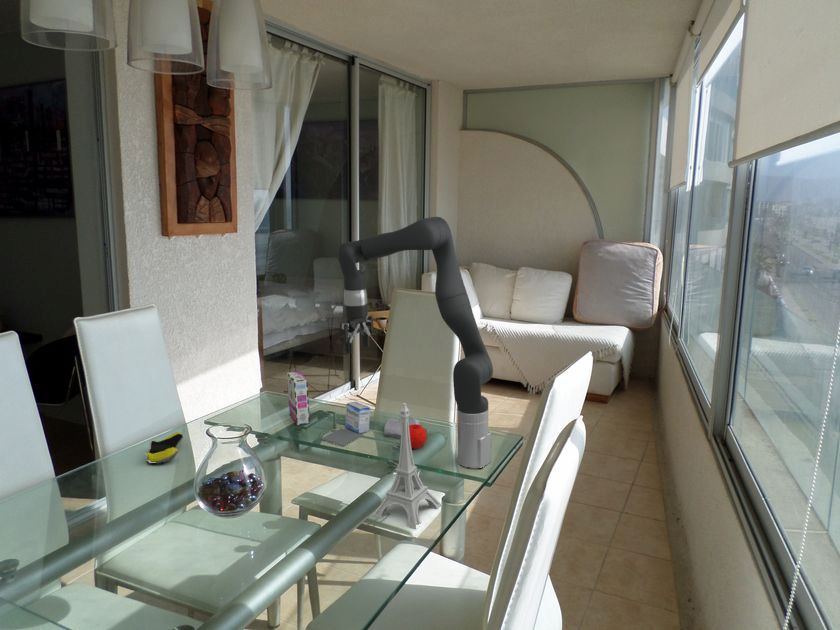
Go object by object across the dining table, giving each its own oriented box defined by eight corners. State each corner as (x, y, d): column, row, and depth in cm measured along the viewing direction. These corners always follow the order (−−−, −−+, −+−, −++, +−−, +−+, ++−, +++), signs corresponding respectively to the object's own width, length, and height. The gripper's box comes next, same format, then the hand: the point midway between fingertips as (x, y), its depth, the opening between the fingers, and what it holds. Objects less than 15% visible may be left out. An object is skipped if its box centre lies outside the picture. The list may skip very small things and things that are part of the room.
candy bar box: (311, 423, 229) (307, 379, 225) (296, 426, 227) (293, 381, 223) (302, 412, 239) (299, 370, 235) (289, 415, 237) (285, 372, 233)
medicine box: (344, 427, 224) (345, 402, 222) (355, 424, 227) (356, 400, 225) (358, 434, 218) (359, 409, 217) (369, 431, 221) (370, 406, 220)
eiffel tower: (372, 516, 169) (367, 407, 162) (399, 493, 180) (396, 391, 173) (416, 530, 163) (413, 417, 155) (442, 505, 174) (440, 399, 167)
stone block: (418, 444, 215) (420, 426, 224) (417, 432, 213) (419, 414, 222) (382, 444, 216) (386, 427, 225) (381, 432, 214) (385, 415, 223)
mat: (363, 435, 218) (363, 434, 218) (343, 446, 210) (343, 445, 210) (341, 429, 224) (341, 428, 223) (320, 439, 216) (320, 438, 216)
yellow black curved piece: (185, 445, 214) (152, 449, 212) (183, 430, 213) (150, 433, 211) (178, 466, 200) (143, 470, 198) (176, 449, 199) (141, 453, 197)
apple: (410, 439, 214) (409, 418, 212) (431, 444, 210) (431, 422, 208) (398, 449, 207) (397, 427, 205) (420, 454, 203) (419, 432, 202)
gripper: (350, 308, 206) (352, 357, 210) (378, 299, 217) (380, 346, 221) (332, 305, 210) (335, 353, 214) (361, 297, 221) (363, 343, 225)
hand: (358, 349), depth 217 cm, fingers open, 8 cm apart
